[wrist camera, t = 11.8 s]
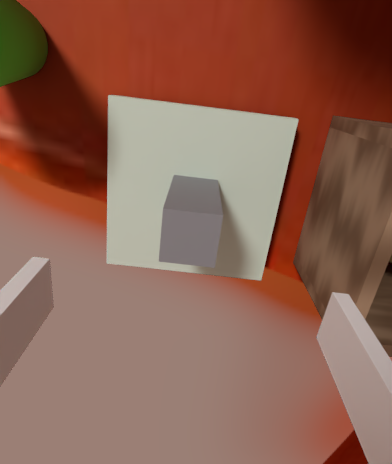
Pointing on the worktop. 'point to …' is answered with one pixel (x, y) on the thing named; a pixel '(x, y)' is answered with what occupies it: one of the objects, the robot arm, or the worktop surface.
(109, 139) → the lid
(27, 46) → the cup
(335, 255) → the walnut box
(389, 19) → the worktop surface
